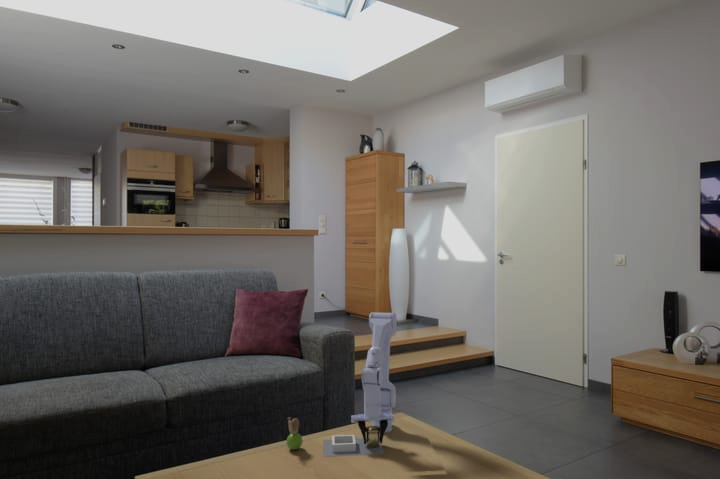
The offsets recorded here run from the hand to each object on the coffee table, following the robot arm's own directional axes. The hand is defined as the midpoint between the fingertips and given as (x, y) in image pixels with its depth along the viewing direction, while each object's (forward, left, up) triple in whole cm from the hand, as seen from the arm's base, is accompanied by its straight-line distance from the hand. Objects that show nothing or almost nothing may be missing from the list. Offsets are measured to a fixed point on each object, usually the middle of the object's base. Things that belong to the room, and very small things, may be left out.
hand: (372, 442), depth 170 cm
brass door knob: (0, 0, -1) cm, 1 cm away
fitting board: (0, -7, -2) cm, 7 cm away
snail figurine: (-2, -27, -2) cm, 27 cm away
